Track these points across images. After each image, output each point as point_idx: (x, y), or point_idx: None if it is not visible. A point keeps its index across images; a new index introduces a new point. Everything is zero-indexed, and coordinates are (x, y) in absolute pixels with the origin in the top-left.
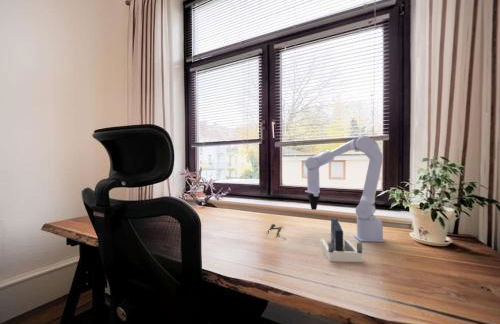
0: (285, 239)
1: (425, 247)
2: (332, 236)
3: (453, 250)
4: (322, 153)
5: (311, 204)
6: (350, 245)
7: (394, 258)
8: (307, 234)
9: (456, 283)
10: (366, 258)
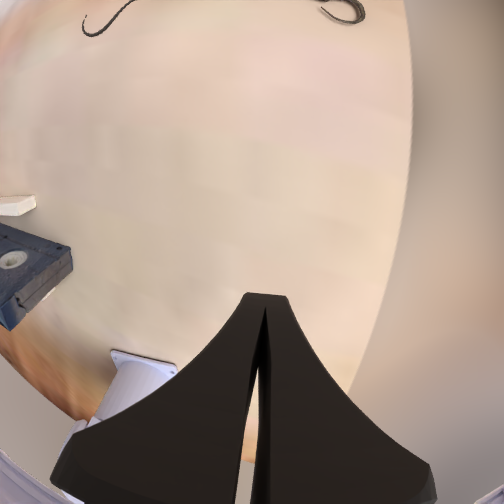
0: (89, 36)
1: None
2: (22, 257)
3: None
4: None
5: (215, 340)
6: None
7: (34, 341)
8: (175, 152)
9: (3, 346)
10: None
